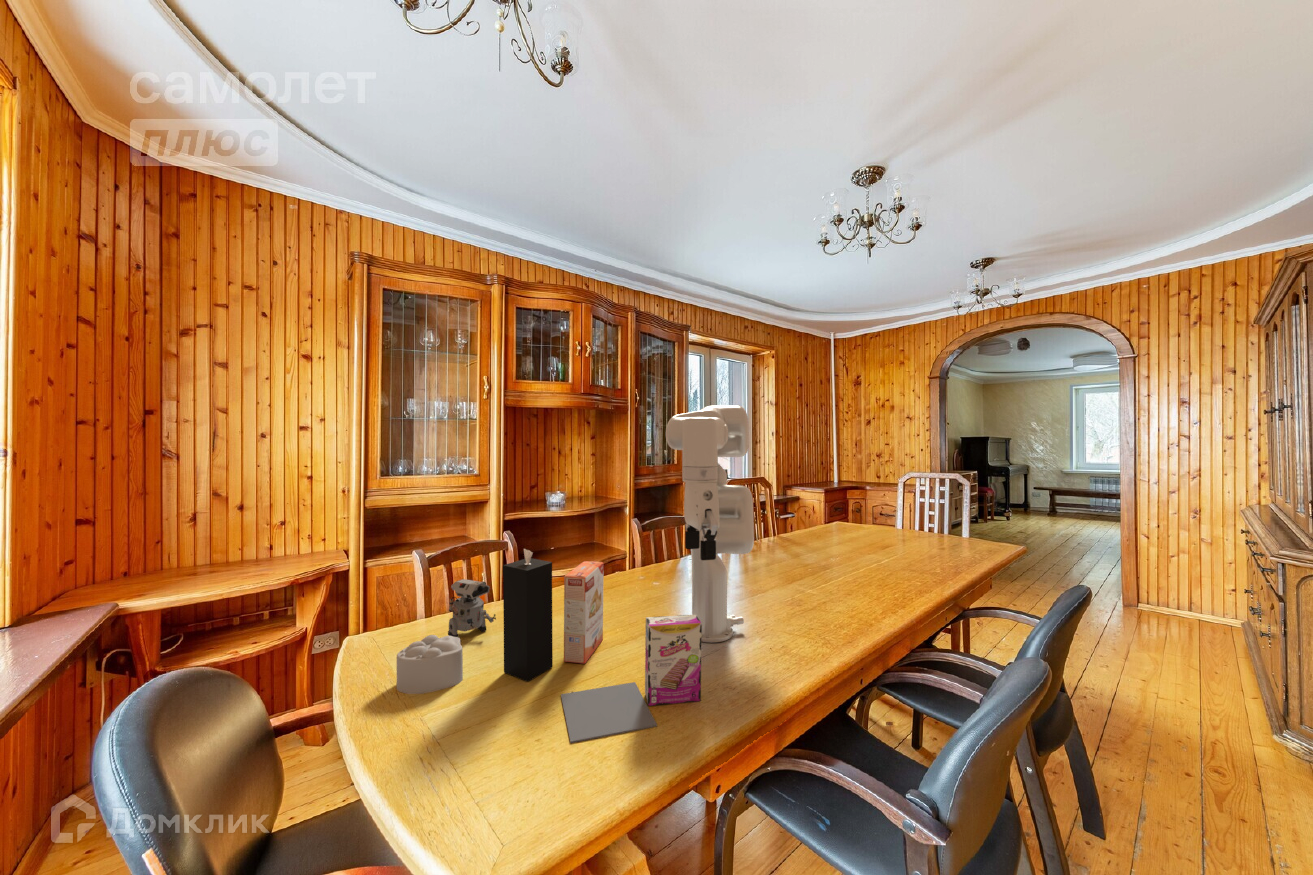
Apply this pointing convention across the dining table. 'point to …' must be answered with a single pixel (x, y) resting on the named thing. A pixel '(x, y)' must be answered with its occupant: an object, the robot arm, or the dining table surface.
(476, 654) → the dining table surface
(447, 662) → the lumpy-topped squat cylinder
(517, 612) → the black tall square box
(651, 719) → the felt mat
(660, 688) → the candy bar box
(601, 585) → the cracker box
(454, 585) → the figurine
